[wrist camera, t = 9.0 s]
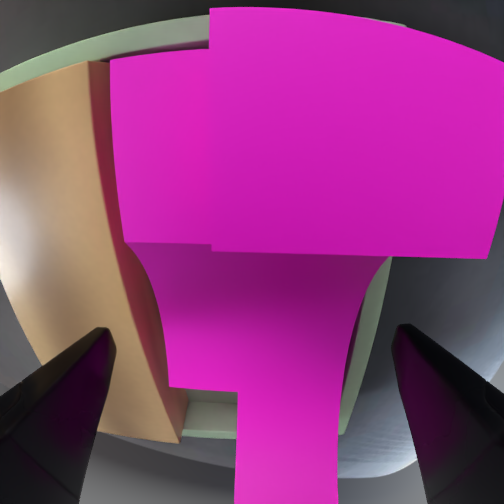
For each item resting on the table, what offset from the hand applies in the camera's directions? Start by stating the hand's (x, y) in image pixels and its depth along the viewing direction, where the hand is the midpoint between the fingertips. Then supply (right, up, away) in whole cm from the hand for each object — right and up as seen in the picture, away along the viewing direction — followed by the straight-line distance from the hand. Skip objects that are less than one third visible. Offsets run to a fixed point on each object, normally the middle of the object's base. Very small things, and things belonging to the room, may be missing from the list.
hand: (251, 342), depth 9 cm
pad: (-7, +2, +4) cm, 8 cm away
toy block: (0, +2, +3) cm, 4 cm away
